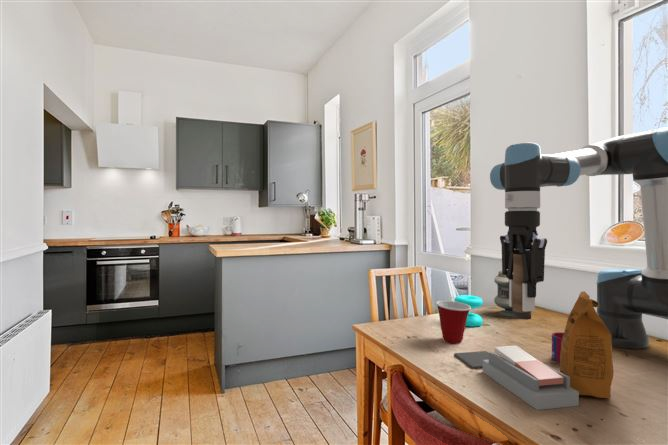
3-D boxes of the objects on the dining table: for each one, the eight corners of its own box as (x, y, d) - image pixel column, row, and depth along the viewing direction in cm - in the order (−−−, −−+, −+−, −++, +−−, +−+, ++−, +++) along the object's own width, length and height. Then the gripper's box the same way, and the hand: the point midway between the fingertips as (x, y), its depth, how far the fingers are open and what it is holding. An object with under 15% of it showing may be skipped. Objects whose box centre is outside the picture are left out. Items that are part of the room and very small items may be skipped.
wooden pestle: (523, 314, 94) (524, 253, 93) (535, 319, 90) (536, 255, 90) (508, 315, 93) (509, 253, 93) (520, 319, 89) (521, 255, 89)
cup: (550, 354, 112) (551, 331, 112) (591, 360, 107) (592, 335, 107) (552, 362, 106) (552, 337, 106) (595, 368, 101) (596, 343, 101)
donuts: (486, 300, 138) (458, 299, 138) (486, 327, 138) (458, 327, 138) (477, 294, 148) (451, 294, 148) (477, 320, 148) (451, 320, 148)
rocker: (494, 352, 98) (494, 347, 97) (515, 350, 99) (516, 345, 98) (538, 385, 82) (539, 379, 82) (563, 383, 83) (563, 377, 83)
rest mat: (485, 353, 113) (485, 351, 113) (507, 366, 103) (507, 363, 103) (454, 355, 111) (454, 353, 111) (473, 368, 101) (473, 366, 101)
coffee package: (605, 382, 93) (606, 291, 92) (616, 405, 82) (617, 302, 81) (557, 374, 97) (558, 288, 97) (562, 395, 86) (563, 297, 86)
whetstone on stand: (517, 368, 101) (517, 347, 101) (578, 405, 81) (578, 379, 81) (482, 371, 99) (482, 350, 99) (536, 410, 80) (537, 383, 80)
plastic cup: (471, 348, 117) (471, 308, 117) (434, 344, 120) (434, 306, 120) (470, 337, 127) (471, 301, 127) (437, 334, 131) (437, 299, 130)
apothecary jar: (502, 310, 164) (503, 268, 163) (532, 315, 154) (532, 271, 154) (488, 314, 156) (488, 270, 156) (518, 321, 147) (518, 274, 146)
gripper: (486, 210, 98) (486, 301, 99) (534, 209, 82) (533, 318, 82) (512, 210, 100) (512, 299, 100) (564, 209, 83) (563, 316, 84)
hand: (521, 308), depth 91 cm, fingers closed on wooden pestle, 4 cm apart
